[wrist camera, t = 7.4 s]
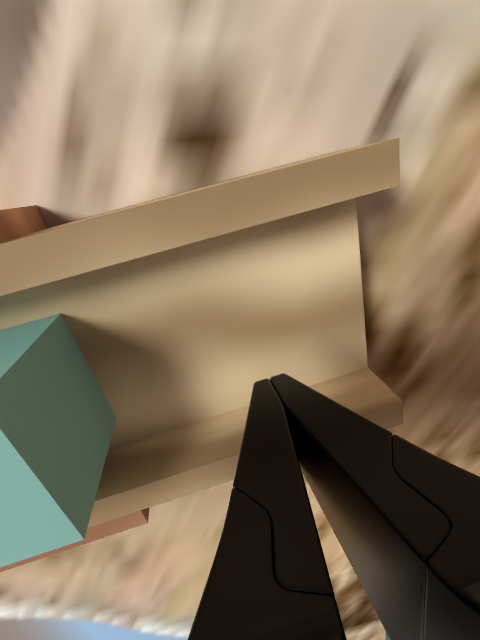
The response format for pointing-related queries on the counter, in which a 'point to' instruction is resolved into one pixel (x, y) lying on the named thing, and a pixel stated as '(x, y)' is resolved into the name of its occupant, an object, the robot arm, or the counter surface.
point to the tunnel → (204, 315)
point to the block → (48, 439)
